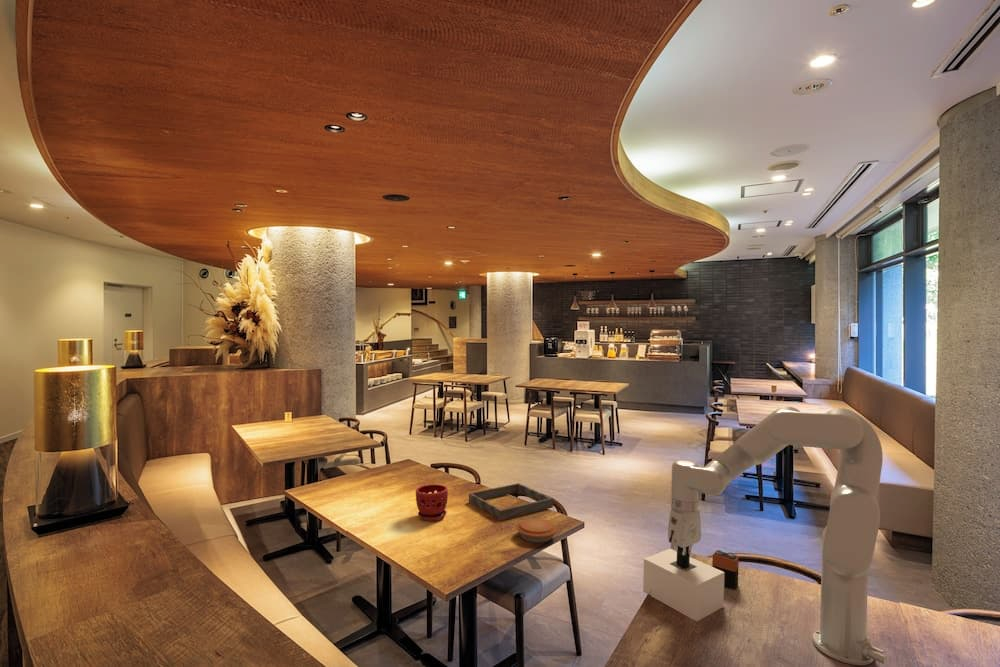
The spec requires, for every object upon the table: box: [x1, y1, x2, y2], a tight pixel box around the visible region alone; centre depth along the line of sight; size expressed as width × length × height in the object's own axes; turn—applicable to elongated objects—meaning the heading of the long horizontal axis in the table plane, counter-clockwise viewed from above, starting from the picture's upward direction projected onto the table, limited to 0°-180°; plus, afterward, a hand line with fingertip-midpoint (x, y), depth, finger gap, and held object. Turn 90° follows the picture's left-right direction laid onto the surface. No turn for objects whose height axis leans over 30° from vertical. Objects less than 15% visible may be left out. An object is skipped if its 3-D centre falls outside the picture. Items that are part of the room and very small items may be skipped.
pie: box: [515, 518, 558, 544], centre depth 187 cm, size 16×16×5 cm
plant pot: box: [415, 483, 449, 522], centre depth 203 cm, size 13×13×12 cm
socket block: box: [642, 548, 725, 622], centre depth 145 cm, size 18×13×10 cm
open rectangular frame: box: [468, 482, 554, 522], centre depth 219 cm, size 25×28×4 cm
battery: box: [711, 549, 740, 590], centre depth 154 cm, size 4×7×10 cm, turn 52°
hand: (682, 566), depth 145 cm, fingers closed
